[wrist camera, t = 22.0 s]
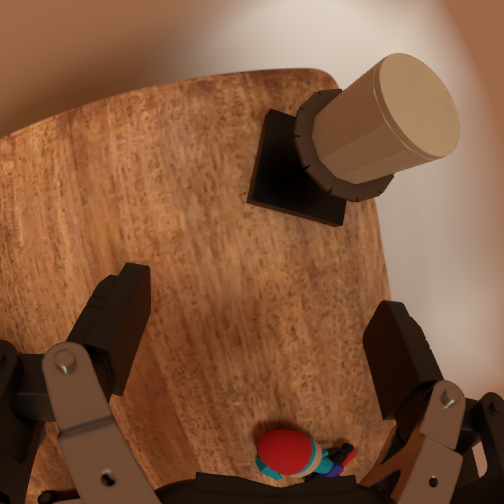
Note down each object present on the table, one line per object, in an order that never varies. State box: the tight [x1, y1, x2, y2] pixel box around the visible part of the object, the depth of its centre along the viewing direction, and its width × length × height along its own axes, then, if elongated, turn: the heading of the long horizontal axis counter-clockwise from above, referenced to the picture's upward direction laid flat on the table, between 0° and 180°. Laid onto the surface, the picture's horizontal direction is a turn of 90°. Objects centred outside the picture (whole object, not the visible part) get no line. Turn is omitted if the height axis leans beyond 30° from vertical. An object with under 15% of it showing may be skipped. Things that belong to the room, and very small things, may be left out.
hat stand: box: [247, 109, 346, 227], centre depth 21 cm, size 9×9×16 cm
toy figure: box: [255, 429, 358, 482], centre depth 27 cm, size 8×5×15 cm
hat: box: [293, 53, 460, 202], centre depth 17 cm, size 8×8×8 cm
